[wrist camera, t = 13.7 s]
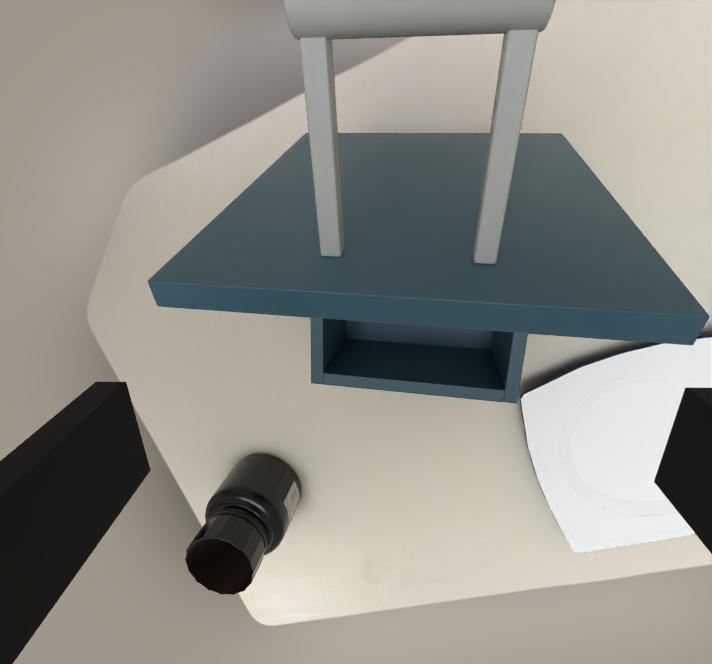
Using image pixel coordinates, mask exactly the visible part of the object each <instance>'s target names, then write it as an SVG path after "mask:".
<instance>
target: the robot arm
mask: <svg viewBox="0 0 712 664" xmlns="http://www.w3.org/2000/svg"><path fill="white" fill-rule="evenodd" d="M149 471H150V467H149V463H148V460H147V456H146V453H145V449H144V445H143V442H142V438H141V435H140V431H139V427H138V423H137V420H136V416H135V413H134V409H133V405H132V402H131V398H130V395H129V391H128V387H127V384H126V382H95V383H94V384H93V385H92V386H91V387H89V388H88V389H87V390H86V391H84V392H83V393H82V394H81V395H80V396H78V397H77V398H76V399H75V400H74V401H72V402H71V403H70V404H69V405H67V406H66V407H65V408H64V409H63V410H61V411H60V412H59V413H58V414H57V415H56V416H54V417H53V418H52V419H51V420H49V421H48V422H47V423H46V424H45V425H43V426H42V427H41V428H40V429H39V430H37V431H36V432H35V433H34V434H32V435H31V436H30V437H29V438H28V439H26V440H25V441H24V442H23V443H22V444H20V445H19V446H18V447H17V448H16V449H14V450H13V451H12V452H11V453H10V454H8V455H7V456H6V457H5V458H4V459H2V460H1V461H0V664H12V663H13V662H14V661H15V659H16V658H17V657H18V655H19V654H20V653H21V651H22V650H23V648H24V647H25V645H26V644H27V643H28V641H29V640H30V639H31V637H32V636H33V634H34V633H35V631H36V630H37V629H38V627H39V626H40V624H41V623H42V622H43V620H44V619H45V617H46V616H47V615H48V613H49V611H50V610H51V609H52V608H53V606H54V605H55V603H56V602H57V601H58V599H59V598H60V596H61V595H62V594H63V592H64V591H65V589H66V588H67V587H68V585H69V584H70V582H71V581H72V580H73V578H74V577H75V575H76V574H77V572H78V571H79V570H80V568H81V567H82V566H83V564H84V563H85V561H86V560H87V558H88V557H89V556H90V554H91V553H92V551H93V550H94V549H95V547H96V546H97V544H98V543H99V542H100V540H101V539H102V537H103V536H104V535H105V533H106V532H107V530H108V529H109V528H110V526H111V525H112V523H113V522H114V521H115V519H116V518H117V516H118V515H119V514H120V512H121V511H122V509H123V508H124V506H125V505H126V504H127V502H128V501H129V499H130V498H131V497H132V495H133V494H134V493H135V491H136V490H137V488H138V487H139V486H140V484H141V483H142V481H143V480H144V478H145V477H146V476H147V474H148V473H149ZM654 483H655V484H656V485H657V486H658V487H659V489H660V490H661V491H662V492H663V494H664V495H665V496H666V497H667V499H668V500H669V501H670V502H671V504H672V505H673V506H674V507H675V509H676V510H677V511H678V512H679V514H680V515H681V516H682V517H683V519H684V520H685V521H686V522H687V524H688V525H689V526H690V527H691V529H692V530H693V531H694V532H695V534H696V535H697V536H698V537H699V539H700V540H701V541H702V542H703V544H704V545H705V546H706V547H707V548H708V550H709V551H710V552H711V553H712V388H685V390H684V393H683V396H682V399H681V402H680V405H679V408H678V411H677V414H676V417H675V420H674V423H673V426H672V429H671V432H670V435H669V438H668V441H667V444H666V447H665V450H664V453H663V456H662V459H661V462H660V465H659V468H658V471H657V474H656V477H655V480H654Z"/></svg>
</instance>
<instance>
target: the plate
mask: <svg viewBox="0 0 712 664" xmlns="http://www.w3.org/2000/svg"><path fill="white" fill-rule="evenodd" d="M685 388H712V335H711V336H703V337H698V338H697V339H696V341H695V343H694V345H679V344H665V343H655V344H651V345H647V346H643V347H639V348H635V349H631V350H627V351H623V352H619V353H616V354H613V355H610V356H607V357H604V358H601V359H598V360H595V361H592V362H589V363H586V364H582V365H580V366H578V367H575V368H573V369H571V370H569V371H567V372H565V373H563V374H561V375H559V376H557V377H555V378H552V379H550V380H548V381H546V382H544V383H542V384H540V385H538V386H536V387H534V388H531V389H529V390H527V391H525V392H523V393H522V395H521V396H520V403H521V409H522V415H523V421H524V427H525V433H526V440H527V445H528V449H529V452H530V456H531V459H532V463H533V466H534V470H535V473H536V476H537V478H538V481H539V483H540V485H541V488H542V490H543V493H544V495H545V497H546V500H547V502H548V505H549V507H550V509H551V510H552V512H553V514H554V516H555V518H556V520H557V522H558V524H559V525H560V527H561V529H562V531H563V533H564V535H565V537H566V539H567V541H568V542H569V544H570V546H571V548H572V550H573V551H574V552H577V553H581V552H588V551H594V550H601V549H607V548H613V547H620V546H626V545H633V544H639V543H645V542H652V541H658V540H664V539H670V538H676V537H682V536H687V535H693V534H695V532H694V531H693V530H692V529H691V527H690V526H689V525H688V524H687V522H686V521H685V520H684V519H683V517H682V516H681V515H680V514H679V512H678V511H677V510H676V509H675V507H674V506H673V505H672V504H671V502H670V501H669V500H668V499H667V497H666V496H665V495H664V494H663V492H662V491H661V490H660V489H659V487H658V486H657V485H656V484H655V483H654V480H655V477H656V474H657V471H658V468H659V465H660V462H661V459H662V456H663V453H664V450H665V447H666V444H667V441H668V438H669V435H670V432H671V429H672V426H673V423H674V420H675V417H676V414H677V411H678V408H679V405H680V402H681V399H682V396H683V393H684V390H685Z"/></svg>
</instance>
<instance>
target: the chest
mask: <svg viewBox="0 0 712 664" xmlns="http://www.w3.org/2000/svg"><path fill="white" fill-rule="evenodd" d="M527 335H528V333H515V332H502V331H488V330H474V329H461V328H447V327H433V326H420V325H406V324H393V323H379V322H365V321H352V320H338V319H324V318H311V383H315V384H325V385H336V386H346V387H356V388H366V389H376V390H386V391H396V392H406V393H416V394H426V395H437V396H447V397H457V398H467V399H477V400H487V401H497V402H509V403H517V399H518V393H519V386H520V380H521V374H522V367H523V361H524V354H525V348H526V341H527Z"/></svg>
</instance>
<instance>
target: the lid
mask: <svg viewBox="0 0 712 664" xmlns="http://www.w3.org/2000/svg"><path fill="white" fill-rule="evenodd" d="M283 3H284V9H285V14H286V18H287V22H288V25H289V28H290V30H291V33H292V35H293V36H294V38H296V39H297V40H300V48H301V58H302V68H303V78H304V88H305V99H306V109H307V119H308V129H309V133H306V134H305V135H304V136H302V137H301V138H300V139H299V140H298V141H297V142H296V143H295V144H294V145H293V146H292V147H291V148H290V149H289V150H287V151H286V152H285V153H284V154H283V155H282V156H281V157H280V158H279V159H278V160H277V161H276V162H275V163H274V164H272V165H271V166H270V167H269V168H268V169H267V170H266V171H265V172H264V173H263V174H262V175H261V176H260V177H259V178H257V179H256V180H255V181H254V182H253V183H252V184H251V185H250V186H249V187H248V188H247V189H246V190H245V191H244V192H242V193H241V194H240V195H239V196H238V197H237V198H236V199H235V200H234V201H233V202H232V203H231V204H230V205H229V206H227V207H226V208H225V209H224V210H223V211H222V212H221V213H220V214H219V215H218V216H217V217H216V218H215V219H214V220H212V221H211V222H210V223H209V224H208V225H207V226H206V227H205V228H204V229H203V230H202V231H201V232H200V233H199V234H197V235H196V236H195V237H194V238H193V239H192V240H191V241H190V242H189V243H188V244H187V245H186V246H185V247H184V248H182V249H181V250H180V251H179V252H178V253H177V254H176V255H175V256H174V257H173V258H172V259H171V260H170V261H169V262H167V263H166V264H165V265H164V266H163V267H162V268H161V269H160V270H159V271H158V272H157V273H156V274H155V275H154V276H152V277H151V278H150V279H149V280H148V283H149V286H150V288H151V291H152V293H153V296H154V298H155V301H156V304H157V306H161V307H175V308H188V309H202V310H216V311H229V312H243V313H256V314H270V315H284V316H297V317H311V318H324V319H338V320H352V321H365V322H379V323H393V324H406V325H420V326H433V327H447V328H461V329H474V330H488V331H502V332H515V333H529V334H542V335H556V336H570V337H583V338H597V339H611V340H624V341H638V342H651V343H665V344H679V345H694V343H695V341H696V339H697V338H698V336H699V334H700V332H701V331H702V329H703V327H704V326H705V324H706V322H707V320H708V319H709V315H708V314H707V312H706V311H705V310H704V309H703V308H702V306H701V305H700V304H699V303H698V301H697V300H696V299H695V298H694V296H693V295H692V294H691V293H690V291H689V290H688V289H687V288H686V287H685V285H684V284H683V283H682V282H681V280H680V279H679V278H678V277H677V275H676V274H675V273H674V272H673V270H672V269H671V268H670V267H669V265H668V264H667V263H666V262H665V261H664V259H663V258H662V257H661V256H660V254H659V253H658V252H657V251H656V249H655V248H654V247H653V246H652V244H651V243H650V242H649V241H648V240H647V238H646V237H645V236H644V235H643V233H642V232H641V231H640V230H639V228H638V227H637V226H636V225H635V223H634V222H633V221H632V220H631V219H630V217H629V216H628V215H627V214H626V212H625V211H624V210H623V209H622V207H621V206H620V205H619V204H618V202H617V201H616V200H615V199H614V197H613V196H612V195H611V194H610V193H609V191H608V190H607V189H606V188H605V186H604V185H603V184H602V183H601V181H600V180H599V179H598V178H597V176H596V175H595V174H594V173H593V172H592V170H591V169H590V168H589V167H588V165H587V164H586V163H585V162H584V160H583V159H582V158H581V157H580V155H579V154H578V153H577V152H576V150H575V149H574V148H573V147H572V146H571V144H570V143H569V142H568V141H567V139H566V138H565V137H564V136H563V134H541V133H520V129H521V124H522V118H523V113H524V108H525V102H526V97H527V91H528V86H529V80H530V75H531V69H532V64H533V58H534V53H535V47H536V42H537V36H538V32H541V31H543V30H544V29H545V28H546V26H547V24H548V22H549V19H550V17H551V14H552V11H553V7H554V4H555V0H283ZM500 33H504V39H503V46H502V53H501V60H500V67H499V74H498V81H497V88H496V95H495V102H494V109H493V116H492V123H491V130H490V133H338V131H337V114H336V98H335V81H334V65H333V48H332V39H357V38H382V37H383V38H385V37H414V36H443V35H471V34H500Z"/></svg>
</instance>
